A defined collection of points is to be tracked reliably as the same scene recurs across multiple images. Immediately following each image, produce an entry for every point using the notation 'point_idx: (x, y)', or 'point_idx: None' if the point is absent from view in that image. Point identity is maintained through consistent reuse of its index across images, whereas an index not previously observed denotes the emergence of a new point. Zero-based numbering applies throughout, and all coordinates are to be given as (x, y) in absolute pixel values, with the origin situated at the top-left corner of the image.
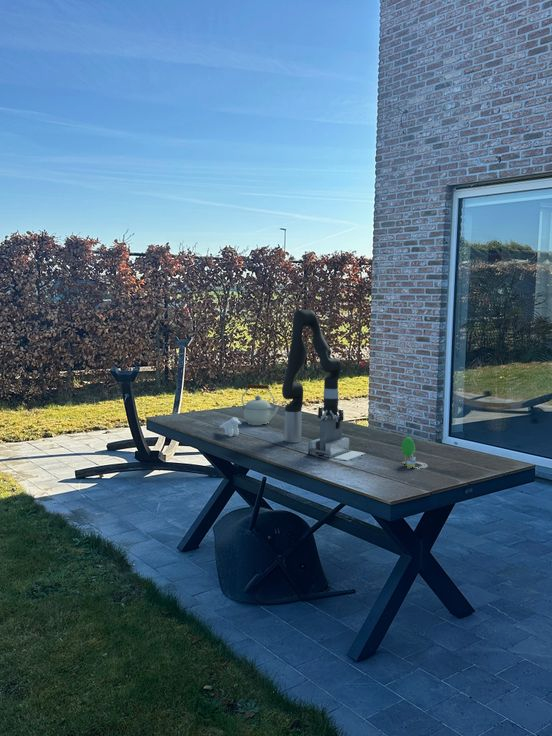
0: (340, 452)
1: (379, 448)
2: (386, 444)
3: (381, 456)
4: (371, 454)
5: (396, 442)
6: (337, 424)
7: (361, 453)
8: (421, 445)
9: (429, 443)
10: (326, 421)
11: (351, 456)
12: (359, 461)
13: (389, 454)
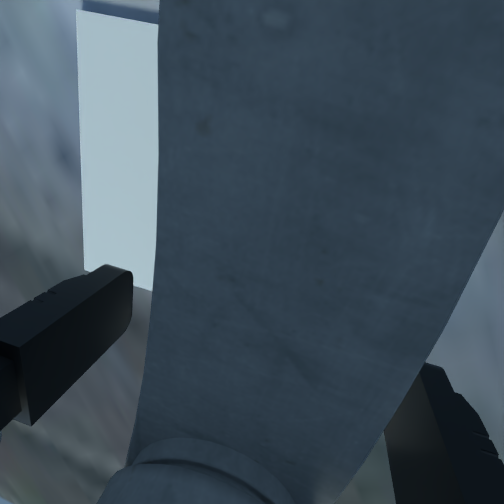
0: None
1: (98, 398)
2: (110, 464)
3: (7, 253)
4: (65, 275)
5: (96, 496)
6: (37, 315)
7: (97, 252)
8: (7, 467)
9: (5, 493)
10: (180, 169)
11: (107, 144)
12: (23, 64)
13: (5, 306)
